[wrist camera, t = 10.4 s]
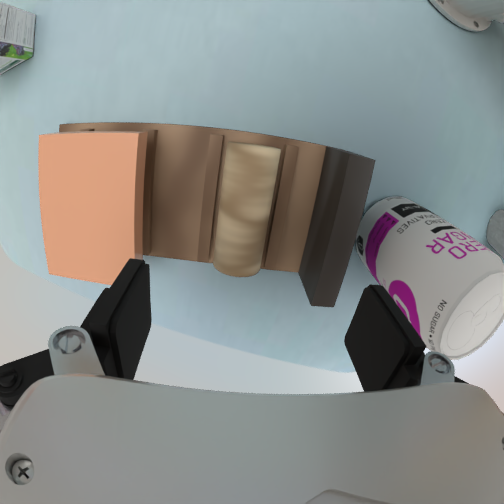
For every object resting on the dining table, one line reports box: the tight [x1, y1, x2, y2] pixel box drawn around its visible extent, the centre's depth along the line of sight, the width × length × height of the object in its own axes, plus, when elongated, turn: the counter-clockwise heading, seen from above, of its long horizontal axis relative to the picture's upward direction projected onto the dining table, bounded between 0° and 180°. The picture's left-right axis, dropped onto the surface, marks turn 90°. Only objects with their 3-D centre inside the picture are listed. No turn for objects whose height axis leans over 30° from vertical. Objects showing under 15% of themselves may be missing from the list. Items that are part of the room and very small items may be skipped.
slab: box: [39, 131, 148, 285], centre depth 18 cm, size 8×11×2 cm
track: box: [59, 123, 375, 307], centre depth 22 cm, size 26×12×6 cm, turn 81°
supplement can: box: [356, 196, 504, 360], centre depth 21 cm, size 8×8×15 cm
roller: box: [213, 142, 281, 277], centre depth 23 cm, size 4×10×4 cm, turn 172°
